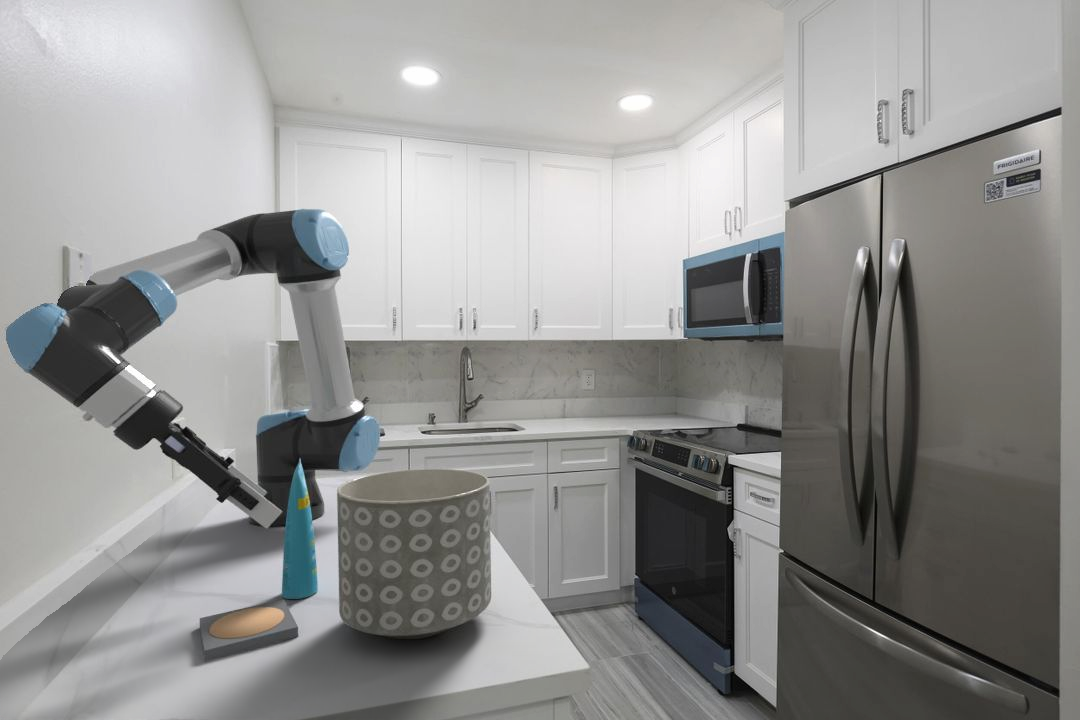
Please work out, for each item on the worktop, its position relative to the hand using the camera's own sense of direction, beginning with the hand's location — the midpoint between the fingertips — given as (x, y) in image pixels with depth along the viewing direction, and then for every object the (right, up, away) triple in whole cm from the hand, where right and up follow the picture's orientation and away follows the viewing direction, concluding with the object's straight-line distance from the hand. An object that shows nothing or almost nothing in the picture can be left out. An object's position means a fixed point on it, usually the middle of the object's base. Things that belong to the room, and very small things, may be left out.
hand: (266, 509), depth 81 cm
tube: (+4, -13, +3) cm, 14 cm away
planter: (+23, -13, -7) cm, 27 cm away
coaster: (+2, -13, -9) cm, 16 cm away
